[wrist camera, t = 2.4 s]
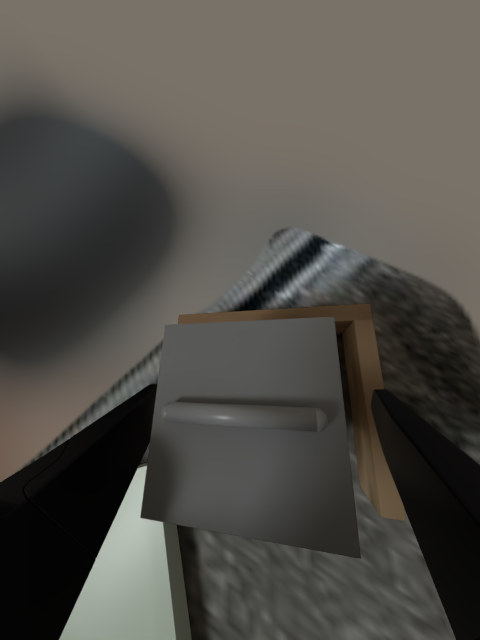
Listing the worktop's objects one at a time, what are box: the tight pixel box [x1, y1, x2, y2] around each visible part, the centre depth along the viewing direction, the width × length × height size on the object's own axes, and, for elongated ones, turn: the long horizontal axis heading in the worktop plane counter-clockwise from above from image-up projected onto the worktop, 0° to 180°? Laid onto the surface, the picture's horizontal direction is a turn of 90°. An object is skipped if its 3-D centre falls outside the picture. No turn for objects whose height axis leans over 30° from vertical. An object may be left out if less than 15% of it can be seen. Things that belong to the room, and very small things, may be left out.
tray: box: [59, 463, 192, 640], centre depth 14 cm, size 12×12×2 cm
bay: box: [178, 304, 406, 521], centre depth 14 cm, size 10×12×4 cm
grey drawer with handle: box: [140, 317, 361, 559], centre depth 11 cm, size 6×6×11 cm
